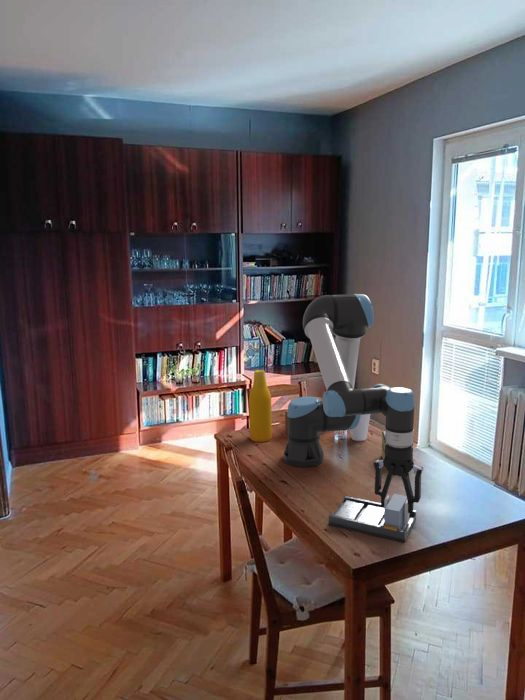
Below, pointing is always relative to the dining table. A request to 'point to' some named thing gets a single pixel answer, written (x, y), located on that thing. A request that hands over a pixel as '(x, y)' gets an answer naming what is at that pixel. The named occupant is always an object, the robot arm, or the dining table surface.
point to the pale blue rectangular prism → (396, 511)
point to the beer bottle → (260, 409)
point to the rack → (368, 519)
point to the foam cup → (361, 428)
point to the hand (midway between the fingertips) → (396, 520)
